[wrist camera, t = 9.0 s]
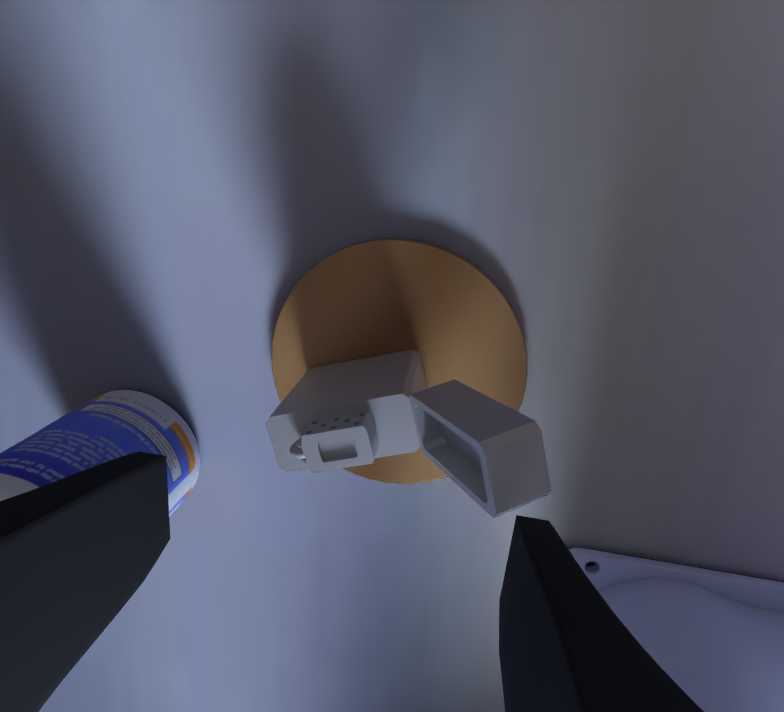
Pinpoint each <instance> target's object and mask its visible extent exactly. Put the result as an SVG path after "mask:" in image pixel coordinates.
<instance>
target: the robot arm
mask: <svg viewBox="0 0 784 712" xmlns="http://www.w3.org/2000/svg"><path fill="white" fill-rule="evenodd" d="M169 540H170V524H169V503H168V481H167V460H166V456H164V455H158V454H152V453H146V452H140V451H139V452H135V453H131V454H128V455H125V456H122V457H119V458H116V459H113V460H110V461H107V462H105V463H102V464H99V465H96V466H94V467H91V468H88V469H86V470H83V471H81V472H78V473H75V474H73V475H70V476H67V477H65V478H62V479H60V480H57V481H54V482H52V483H49V484H46V485H44V486H41V487H39V488H36V489H33V490H31V491H28V492H25V493H22V494H19V495H16V496H14V497H11V498H8V499H5V500H2V501H0V712H39V710H40V709H41V707H42V706H43V705H44V703H45V702H46V701H47V700H48V698H49V697H50V696H51V694H52V693H53V692H54V690H55V689H56V688H57V687H58V685H59V684H60V683H61V681H62V680H63V679H64V678H65V676H66V675H67V674H68V673H69V672H70V670H71V669H72V668H73V667H74V666H75V664H76V663H77V662H78V661H79V660H80V658H81V657H82V656H83V655H84V654H85V652H86V651H87V650H88V649H89V647H90V646H91V645H92V644H93V643H94V641H95V640H96V639H97V638H98V637H99V635H100V634H101V633H102V632H103V631H104V629H105V628H106V627H107V626H108V625H109V623H110V622H111V621H112V620H113V618H114V617H115V616H116V615H117V614H118V612H119V611H120V610H121V609H122V607H123V606H124V605H125V604H126V603H127V601H128V600H129V599H130V598H131V596H132V595H133V594H134V593H135V591H136V590H137V589H138V588H139V586H140V585H141V584H142V583H143V581H144V580H145V578H146V577H147V575H148V574H149V572H150V570H151V569H152V567H153V566H154V564H155V563H156V561H157V560H158V558H159V556H160V555H161V553H162V551H163V550H164V548H165V546H166V545H167V543H168V541H169ZM593 561H594V562H596V564H595V565H593V566H587V565H586V563H588V562H593ZM499 655H500V665H501V675H502V685H503V694H504V704H505V712H784V582H778V581H772V580H766V579H761V578H755V577H749V576H743V575H737V574H731V573H725V572H719V571H713V570H708V569H702V568H696V567H690V566H684V565H678V564H672V563H666V562H660V561H654V560H649V559H643V558H637V557H631V556H625V555H619V554H613V553H607V552H601V551H596V550H590V549H584V548H571V549H568V548H567V546H566V545H565V543H564V542H563V540H562V539H561V537H560V536H559V534H558V533H557V532H556V530H555V529H554V527H553V526H552V524H551V523H550V522H549V521H547V520H542V519H536V518H530V517H524V516H518V515H516V520H515V525H514V531H513V536H512V541H511V546H510V551H509V556H508V561H507V566H506V571H505V576H504V581H503V586H502V591H501V596H500V608H499Z"/></svg>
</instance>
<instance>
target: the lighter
mask: <svg viewBox="0 0 784 712" xmlns="http://www.w3.org/2000/svg"><path fill="white" fill-rule="evenodd" d="M266 427H267V430H268V433H269V436H270V439H271V443H272V446H273V449H274V452H275V455H276V459H277V462H278V465H279V468H281V469H283V470H284V471H286V472H290V471H296V470H302V469H309V468H310V470H311V471H312V473H315V472H321V471H328V470H334V469H341V468H347V467H354V466H360V465H367V464H373V461H374V459H375V458H380V457H386V456H393V455H399V454H405V453H412V452H416V451H417V450H418V448H419V447H421V449H422V451H423V453H424V454H425V455H426V456H427V457H428V458H429V459H430V460H431V461H432V462H434V463H435V464H436V465H437V466H438V467H439V468H440V469H441V470H442V471H443V472H444V473H445V474H447V475H448V476H449V477H450V478H451V479H452V480H453V481H454V482H455V483H456V484H457V485H458V486H459V487H461V488H462V489H463V490H464V491H465V492H466V493H467V494H468V495H469V496H470V497H471V498H472V499H473V500H475V501H476V502H477V503H478V504H479V505H480V506H481V507H482V508H483V509H484V510H485V511H486V512H488V513H489V514H490V515H491V516H492V517H493V518H495V517H497V516H500V515H502V514H504V513H507V512H509V511H511V510H514V509H516V508H518V507H521V506H523V505H525V504H528V503H530V502H532V501H535V500H537V499H539V498H542V497H544V496H547V495H548V494H549V493H550V492H551V486H550V480H549V474H548V468H547V462H546V456H545V450H544V444H543V437H542V431H541V430H540V428H539V426H538V425H537V423H536V421H535V420H533V419H531V418H529V417H527V416H525V415H523V414H521V413H519V412H517V411H515V410H513V409H511V408H509V407H507V406H505V405H504V404H502V403H500V402H498V401H496V400H494V399H492V398H490V397H488V396H486V395H484V394H482V393H480V392H478V391H476V390H474V389H473V388H471V387H469V386H467V385H465V384H463V383H461V382H459V381H457V380H455V379H454V380H451V381H448V382H445V383H442V384H439V385H436V386H433V387H430V388H428V389H427V384H426V380H425V375H424V371H423V366H422V362H421V357H420V353H419V352H418V351H416V350H414V349H410V350H405V351H400V352H394V353H389V354H384V355H379V356H373V357H368V358H363V359H357V360H352V361H347V362H341V363H336V364H331V365H325V366H320V367H315V368H310V369H308V370H307V372H306V373H305V374H304V375H303V377H302V378H301V379H300V380H299V382H298V383H297V384H296V385H295V386H294V388H293V389H292V390H291V391H290V393H289V394H288V395H287V396H286V397H285V399H284V400H283V401H282V402H281V404H280V405H279V406H278V407H277V408H276V410H275V411H274V412H273V413H272V415H271V416H270V417H269V419H268V420H267V422H266Z"/></svg>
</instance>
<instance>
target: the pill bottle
mask: <svg viewBox="0 0 784 712" xmlns="http://www.w3.org/2000/svg"><path fill="white" fill-rule="evenodd" d="M139 451H140V452H146V453H152V454H158V455H164V456H166V460H167V481H168V503H169V516H170V515H171V514H172V513H173V512H174V511H175V510H176V508H177V507H178V506H179V505H180V504H181V503H182V502H183V501H184V499H185V498H186V497H187V496H188V494H189V493H190V492H191V490H192V489H193V487H194V485H195V483H196V481H197V478H198V475H199V470H200V453H199V448H198V444H197V441H196V439H195V437H194V435H193V433H192V431H191V429H190V428H189V426H188V425H187V423H186V422H185V421H184V420H183V418H182V417H181V416H180V415H179V414H178V413H177V412H176V411H175V410H174V409H172V408H171V407H170V406H169V405H167V404H166V403H164V402H163V401H161V400H159V399H157V398H155V397H153V396H151V395H149V394H146V393H142V392H138V391H132V390H117V391H111V392H107V393H104V394H102V395H100V396H97V397H96V398H94V399H92V400H90V401H88V402H86V403H84V404H83V405H81V406H79V407H78V408H76V409H74V410H73V411H71V412H69V413H68V414H66V415H64V416H63V417H61V418H59V419H58V420H56V421H54V422H53V423H51V424H49V425H48V426H46V427H44V428H43V429H41V430H39V431H38V432H36V433H34V434H33V435H31V436H29V437H28V438H26V439H24V440H23V441H21V442H19V443H17V444H16V445H14V446H12V447H10V448H9V449H7V450H5V451H4V452H2V453H0V501H2V500H5V499H8V498H11V497H14V496H16V495H19V494H22V493H25V492H28V491H31V490H33V489H36V488H39V487H41V486H44V485H46V484H49V483H52V482H54V481H57V480H60V479H62V478H65V477H67V476H70V475H73V474H75V473H78V472H81V471H83V470H86V469H88V468H91V467H94V466H96V465H99V464H102V463H105V462H107V461H110V460H113V459H116V458H119V457H122V456H125V455H128V454H131V453H135V452H139Z"/></svg>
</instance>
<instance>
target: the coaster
mask: <svg viewBox="0 0 784 712" xmlns="http://www.w3.org/2000/svg"><path fill="white" fill-rule="evenodd" d="M410 349H414V350H416V351H418V352H419V353H420V357H421V362H422V366H423V371H424V375H425V380H426V384H427V389H428V388H430V387H433V386H436V385H439V384H442V383H445V382H448V381H451V380H454V379H455V380H457V381H459V382H461V383H463V384H465V385H467V386H469V387H471V388H473V389H474V390H476V391H478V392H480V393H482V394H484V395H486V396H488V397H490V398H492V399H494V400H496V401H498V402H500V403H502V404H504V405H505V406H507V407H509V408H511V409H513V410H515V411H517V412H518V411H519V409H520V406H521V404H522V400H523V396H524V392H525V388H526V379H527V354H526V348H525V342H524V338H523V334H522V331H521V328H520V325H519V322H518V319H517V317H516V315H515V313H514V311H513V309H512V307H511V305H510V304H509V302H508V301H507V299H506V298H505V296H504V295H503V293H502V292H501V290H500V289H499V288H498V287H497V286H496V285H495V283H494V282H493V281H492V280H491V279H490V278H489V277H488V276H487V275H486V274H485V273H484V272H482V271H481V270H480V269H479V268H478V267H477V266H475V265H474V264H472V263H471V262H469V261H468V260H466V259H465V258H463V257H462V256H460V255H458V254H456V253H454V252H451V251H449V250H447V249H445V248H443V247H440V246H436V245H433V244H430V243H427V242H422V241H416V240H410V239H380V240H372V241H368V242H364V243H359V244H356V245H353V246H351V247H348V248H345V249H343V250H340V251H338V252H337V253H335V254H333V255H331V256H329V257H328V258H326V259H324V260H323V261H321V262H320V263H319V264H317V265H316V266H315V267H313V268H312V269H311V270H310V271H309V272H308V273H307V274H306V275H305V276H304V277H303V278H302V279H301V280H300V281H299V282H298V283H297V285H296V286H295V287H294V289H293V290H292V291H291V293H290V294H289V296H288V298H287V300H286V301H285V303H284V305H283V307H282V309H281V312H280V314H279V317H278V320H277V322H276V326H275V331H274V335H273V342H272V370H273V376H274V381H275V386H276V389H277V392H278V395H279V398H280V401H281V402H282V401H283V400H284V399H285V397H286V396H287V395H288V394H289V393H290V391H291V390H292V389H293V388H294V386H295V385H296V384H297V383H298V382H299V380H300V379H301V378H302V377H303V375H304V374H305V373H306V372H307V370H308V369H310V368H315V367H320V366H325V365H331V364H336V363H341V362H347V361H352V360H357V359H363V358H368V357H373V356H379V355H384V354H389V353H394V352H400V351H405V350H410ZM343 469H345V470H347V471H349V472H351V473H354V474H356V475H359V476H362V477H365V478H368V479H372V480H377V481H381V482H387V483H397V484H415V483H423V482H430V481H434V480H438V479H442V478H446V477H448V475H447V474H445V473H444V472H443V471H442V470H441V469H440V468H439V467H438V466H437V465H436V464H435V463H434V462H432V461H431V460H430V459H429V458H428V457H427V456H426V455H425V454H424V453H423V451H422V449H421V447H419V448H418V450H417V451H416V452H412V453H405V454H399V455H393V456H386V457H380V458H375V459H374V461H373V464H367V465H360V466H354V467H347V468H343Z"/></svg>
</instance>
